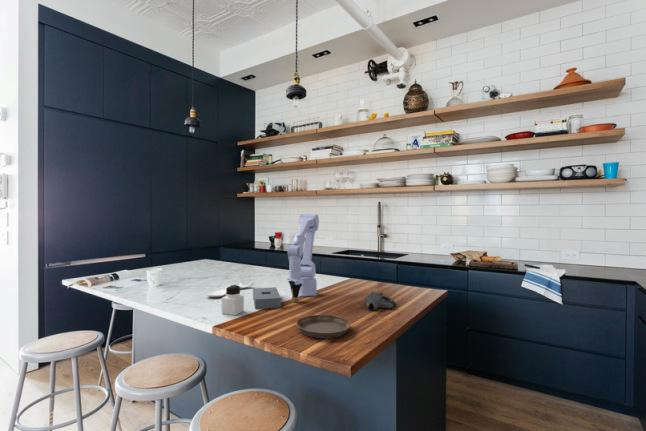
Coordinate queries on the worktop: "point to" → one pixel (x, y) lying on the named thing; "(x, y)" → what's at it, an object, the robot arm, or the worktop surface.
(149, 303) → the worktop surface
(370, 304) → the grey tapered shape
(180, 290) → the worktop surface
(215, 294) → the spoon
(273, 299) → the hole block
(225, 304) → the medicine bottle
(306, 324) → the plant saucer
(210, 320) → the worktop surface
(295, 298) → the peg
